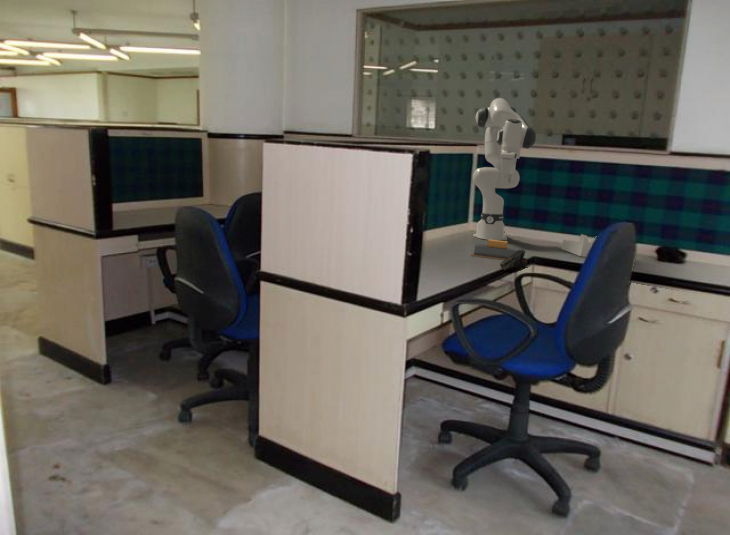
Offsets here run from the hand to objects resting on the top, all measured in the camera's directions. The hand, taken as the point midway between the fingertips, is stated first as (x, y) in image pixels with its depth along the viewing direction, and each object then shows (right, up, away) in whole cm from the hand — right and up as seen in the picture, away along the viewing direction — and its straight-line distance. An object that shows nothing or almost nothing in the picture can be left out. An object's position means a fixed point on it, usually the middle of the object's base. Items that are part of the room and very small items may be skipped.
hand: (507, 183), depth 294 cm
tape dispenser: (+41, -33, +20) cm, 57 cm away
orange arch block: (-6, -34, -2) cm, 34 cm away
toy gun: (-3, -41, -25) cm, 48 cm away
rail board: (-6, -35, -1) cm, 36 cm away
